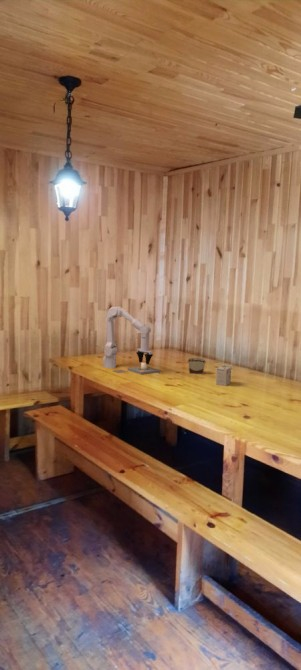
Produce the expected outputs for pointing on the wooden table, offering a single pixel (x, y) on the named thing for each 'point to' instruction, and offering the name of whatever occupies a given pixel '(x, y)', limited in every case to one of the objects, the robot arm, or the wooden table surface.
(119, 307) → the robot arm
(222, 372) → the light bulb box
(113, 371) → the square grey metal plate
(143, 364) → the peg
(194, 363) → the food container
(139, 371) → the hole plate
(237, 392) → the wooden table surface
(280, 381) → the wooden table surface
